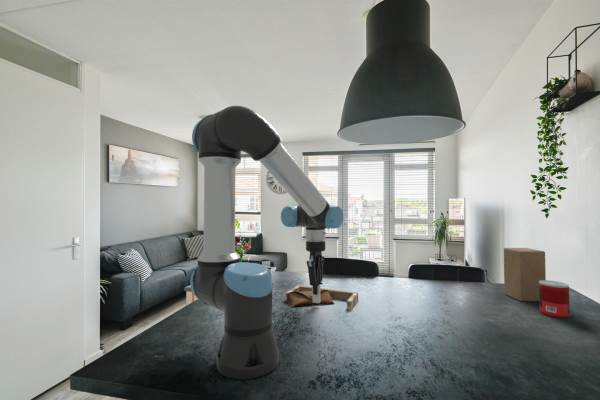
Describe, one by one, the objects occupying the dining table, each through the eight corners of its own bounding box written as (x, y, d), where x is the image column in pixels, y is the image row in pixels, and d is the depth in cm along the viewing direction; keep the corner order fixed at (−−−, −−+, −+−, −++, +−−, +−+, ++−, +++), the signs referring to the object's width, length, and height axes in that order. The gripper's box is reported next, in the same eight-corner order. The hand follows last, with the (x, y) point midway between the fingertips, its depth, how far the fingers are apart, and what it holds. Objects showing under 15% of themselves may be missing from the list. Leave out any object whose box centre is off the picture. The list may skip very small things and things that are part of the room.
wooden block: (546, 301, 113) (545, 251, 114) (521, 301, 114) (520, 251, 114) (527, 294, 123) (526, 247, 124) (503, 294, 124) (502, 247, 124)
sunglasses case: (291, 307, 108) (289, 289, 111) (287, 311, 113) (286, 293, 117) (336, 303, 112) (332, 286, 115) (330, 307, 118) (327, 290, 121)
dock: (350, 309, 105) (350, 301, 106) (285, 300, 117) (285, 292, 117) (358, 300, 116) (358, 292, 116) (297, 292, 127) (297, 285, 128)
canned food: (575, 319, 96) (574, 286, 96) (548, 317, 97) (547, 285, 98) (559, 311, 103) (559, 280, 104) (534, 309, 105) (533, 279, 105)
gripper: (318, 242, 103) (319, 309, 102) (330, 239, 114) (331, 298, 114) (299, 242, 106) (300, 306, 105) (312, 238, 117) (313, 296, 117)
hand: (316, 302), depth 109 cm, fingers closed
